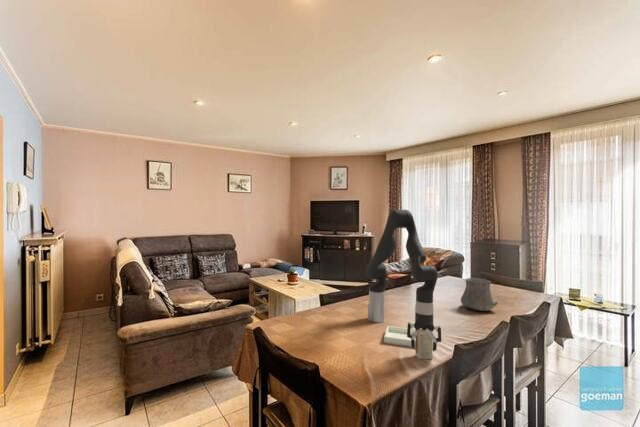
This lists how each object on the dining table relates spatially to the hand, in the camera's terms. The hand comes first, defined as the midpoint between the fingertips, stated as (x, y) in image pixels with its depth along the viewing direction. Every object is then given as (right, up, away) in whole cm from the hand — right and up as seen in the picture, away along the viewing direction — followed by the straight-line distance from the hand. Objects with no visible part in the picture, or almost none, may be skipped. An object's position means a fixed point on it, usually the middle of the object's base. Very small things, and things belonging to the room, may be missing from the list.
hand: (423, 349), depth 132 cm
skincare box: (0, -4, 0) cm, 4 cm away
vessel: (+62, -6, +73) cm, 96 cm away
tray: (-1, -4, +18) cm, 19 cm away
